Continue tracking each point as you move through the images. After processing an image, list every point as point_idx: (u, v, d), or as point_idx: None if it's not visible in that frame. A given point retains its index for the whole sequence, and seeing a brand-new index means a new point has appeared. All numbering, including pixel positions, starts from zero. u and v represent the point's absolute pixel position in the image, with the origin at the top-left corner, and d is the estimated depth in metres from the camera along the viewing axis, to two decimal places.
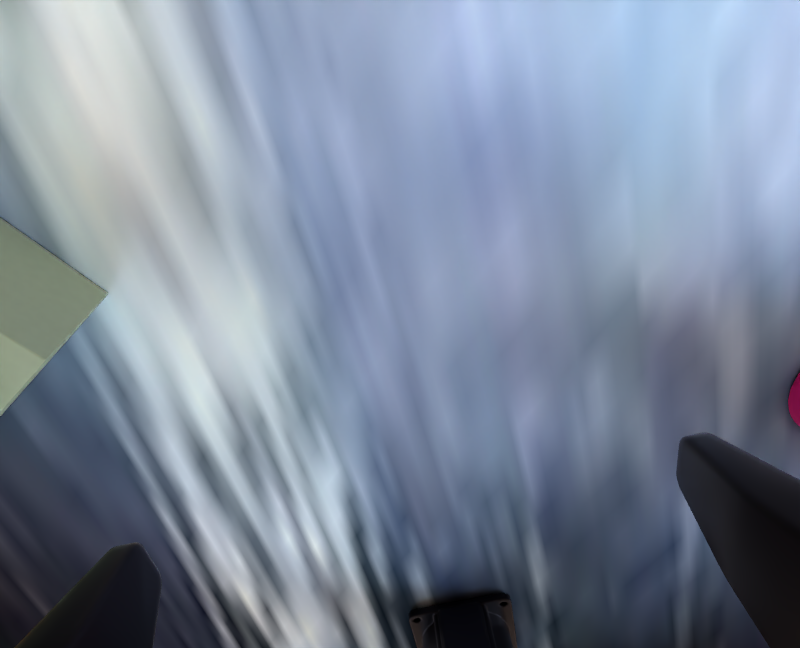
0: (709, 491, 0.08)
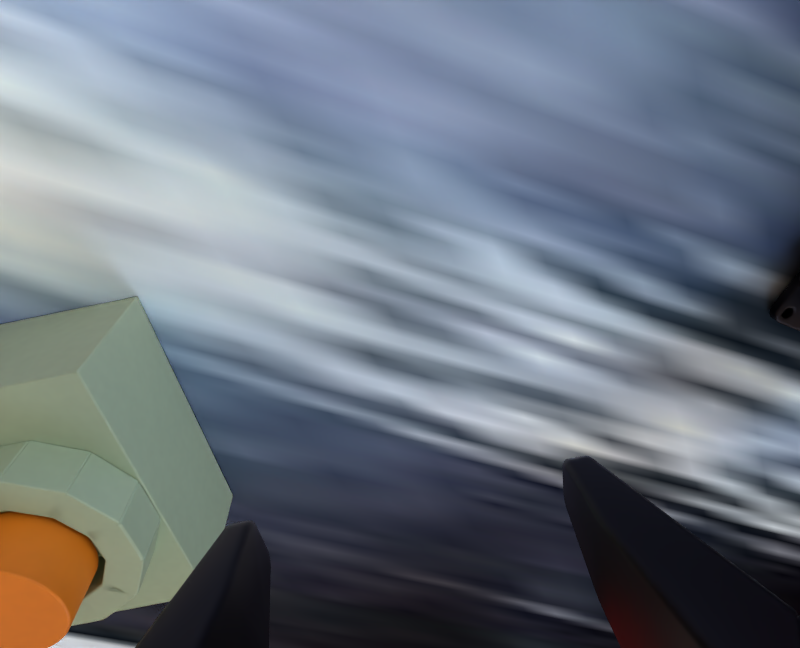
0: (582, 516, 0.08)
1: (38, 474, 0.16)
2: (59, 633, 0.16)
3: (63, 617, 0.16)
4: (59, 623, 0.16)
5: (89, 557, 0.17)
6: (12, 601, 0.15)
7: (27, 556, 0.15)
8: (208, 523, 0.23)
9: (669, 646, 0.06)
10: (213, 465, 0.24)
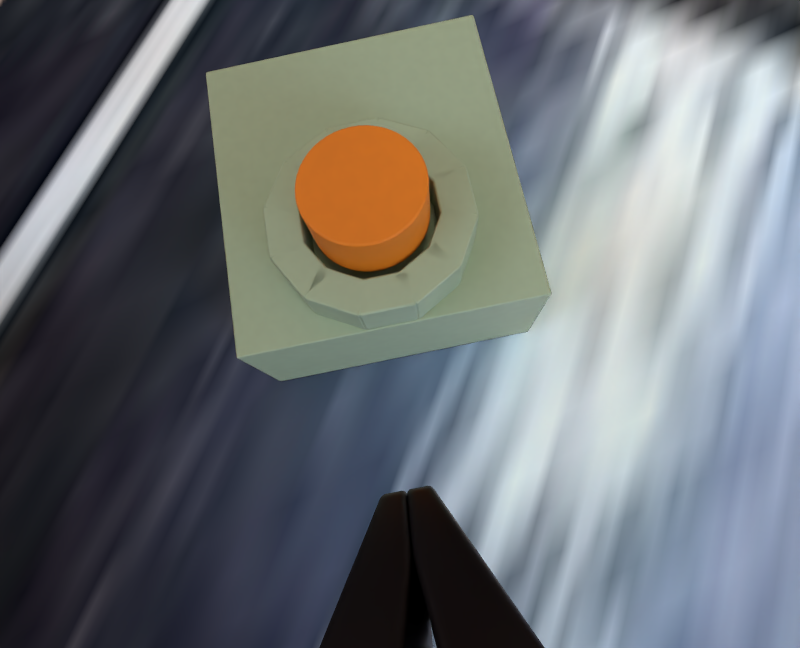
0: None
1: (470, 244, 0.17)
2: (323, 229, 0.15)
3: (348, 239, 0.15)
4: (340, 234, 0.15)
5: (373, 266, 0.17)
6: (381, 202, 0.16)
7: (419, 224, 0.16)
8: (295, 362, 0.21)
9: None
10: (333, 368, 0.23)
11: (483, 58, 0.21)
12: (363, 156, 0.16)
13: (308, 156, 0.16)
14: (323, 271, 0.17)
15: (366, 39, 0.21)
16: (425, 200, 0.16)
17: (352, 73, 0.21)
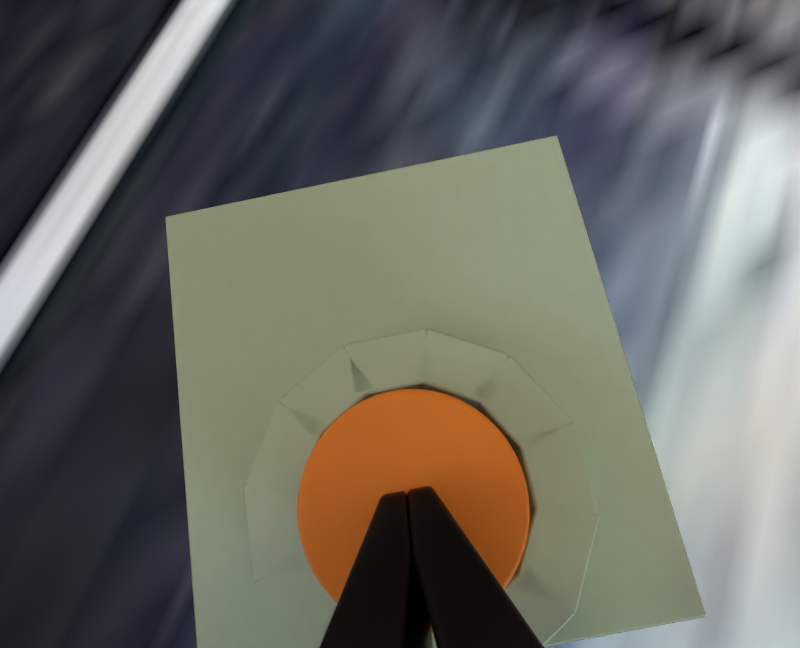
0: None
1: None
2: None
3: None
4: None
5: None
6: None
7: None
8: None
9: None
10: None
11: (575, 204, 0.14)
12: (414, 451, 0.09)
13: (320, 448, 0.09)
14: None
15: (400, 170, 0.15)
16: (525, 543, 0.09)
17: (380, 224, 0.14)
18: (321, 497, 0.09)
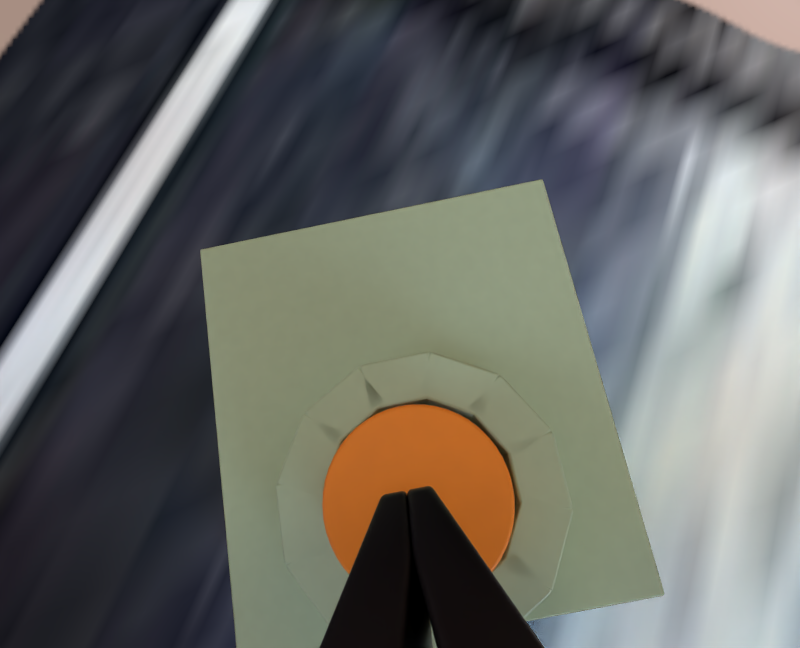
0: None
1: None
2: None
3: None
4: None
5: None
6: None
7: None
8: None
9: None
10: None
11: (558, 241, 0.16)
12: (419, 456, 0.11)
13: (341, 453, 0.11)
14: None
15: (405, 210, 0.17)
16: (511, 532, 0.11)
17: (388, 258, 0.16)
18: (342, 495, 0.11)
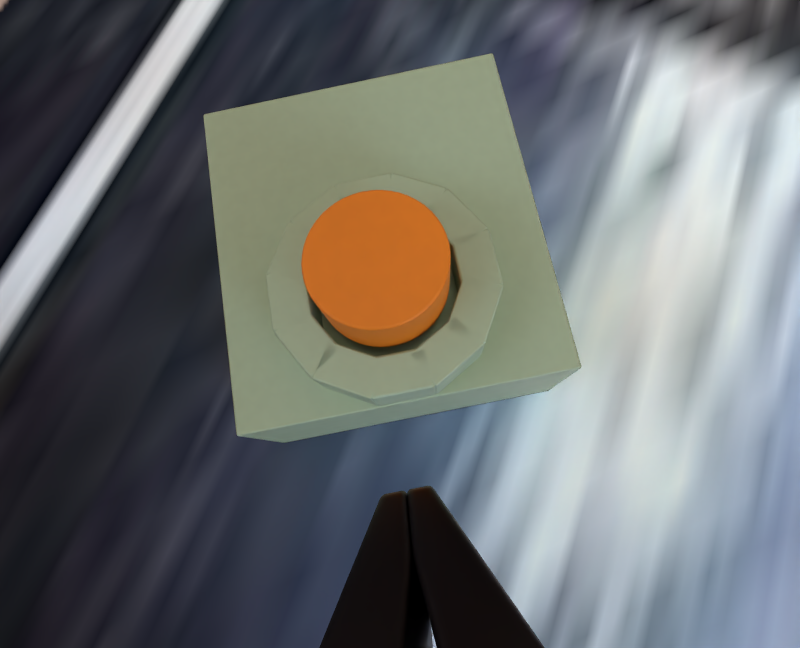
0: None
1: None
2: (333, 310, 0.14)
3: (362, 322, 0.14)
4: (352, 315, 0.14)
5: (388, 344, 0.15)
6: (398, 280, 0.14)
7: (439, 301, 0.14)
8: (300, 431, 0.19)
9: None
10: (340, 430, 0.21)
11: (504, 101, 0.19)
12: (377, 225, 0.14)
13: (316, 225, 0.15)
14: (332, 348, 0.15)
15: (377, 79, 0.20)
16: (447, 277, 0.14)
17: (362, 117, 0.19)
18: (316, 254, 0.14)
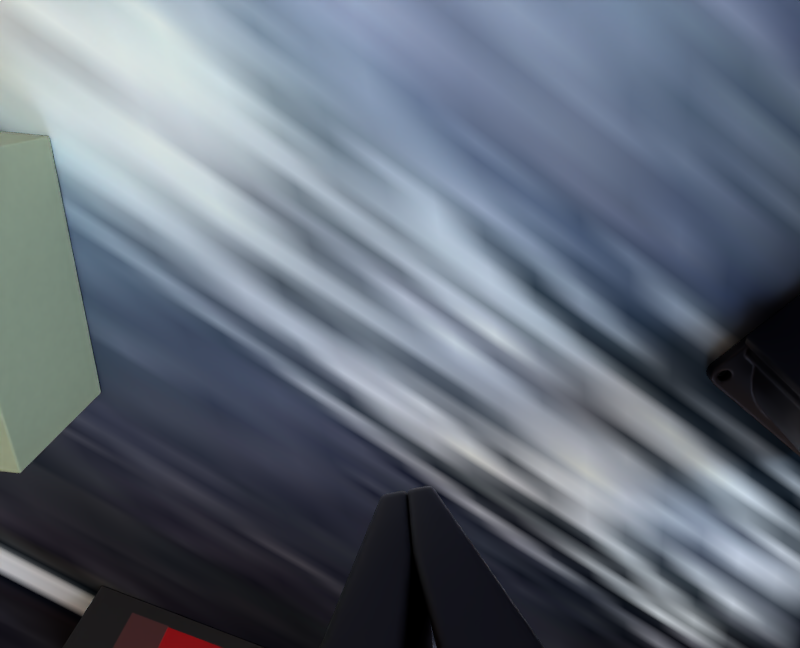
0: None
1: None
2: None
3: None
4: None
5: None
6: None
7: None
8: (52, 403, 0.21)
9: None
10: (85, 350, 0.22)
11: None
12: None
13: None
14: None
15: None
16: None
17: None
18: None
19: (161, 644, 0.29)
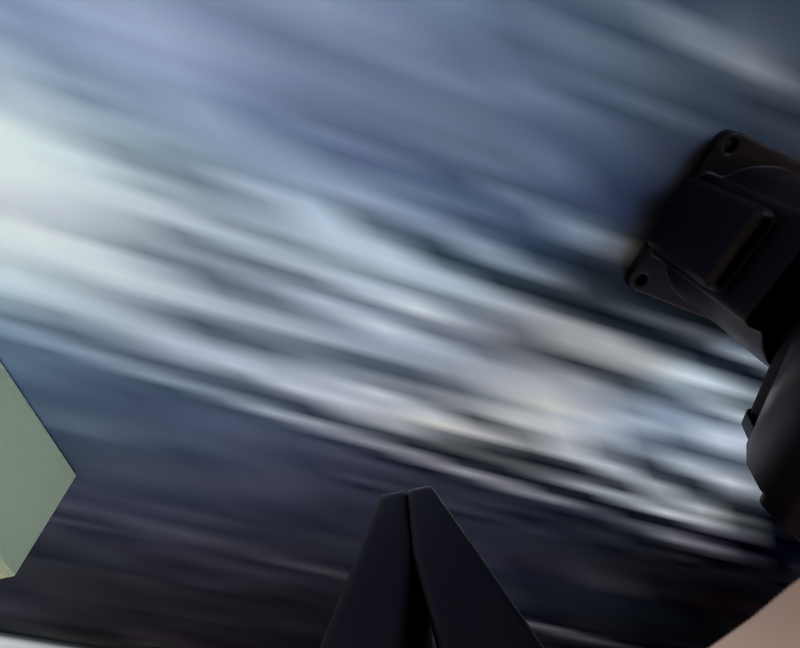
0: None
1: None
2: None
3: None
4: None
5: None
6: None
7: None
8: (26, 502, 0.21)
9: None
10: (45, 442, 0.23)
11: None
12: None
13: None
14: None
15: None
16: None
17: None
18: None
19: None
